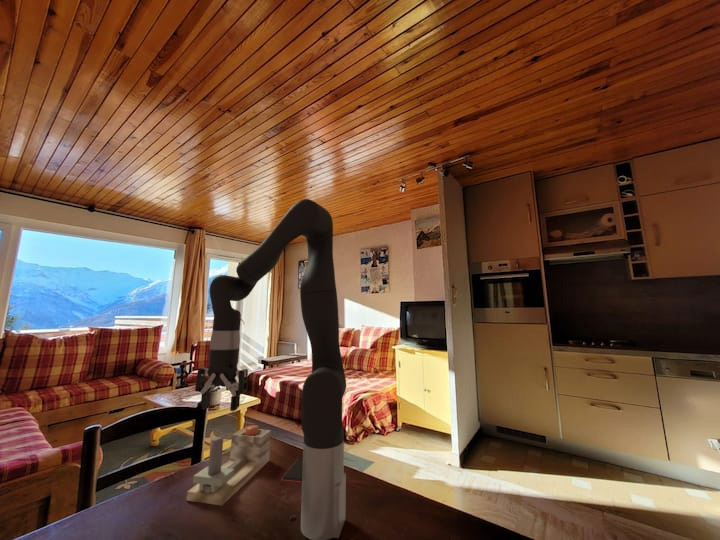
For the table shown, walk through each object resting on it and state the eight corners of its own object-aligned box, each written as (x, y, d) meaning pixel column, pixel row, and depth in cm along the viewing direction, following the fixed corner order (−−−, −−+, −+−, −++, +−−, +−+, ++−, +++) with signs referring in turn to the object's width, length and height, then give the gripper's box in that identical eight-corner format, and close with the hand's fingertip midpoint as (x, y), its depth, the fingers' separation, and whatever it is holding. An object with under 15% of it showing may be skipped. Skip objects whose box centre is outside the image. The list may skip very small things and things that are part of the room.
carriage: (233, 482, 75) (236, 436, 77) (220, 493, 71) (224, 444, 72) (206, 478, 77) (210, 434, 79) (192, 489, 72) (196, 441, 74)
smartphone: (318, 458, 93) (303, 482, 79) (318, 460, 93) (303, 484, 79) (298, 456, 94) (279, 479, 80) (298, 458, 94) (279, 481, 80)
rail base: (269, 460, 92) (270, 430, 93) (222, 505, 69) (225, 464, 71) (240, 457, 94) (243, 427, 95) (186, 500, 71) (190, 460, 73)
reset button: (260, 435, 93) (261, 425, 93) (253, 440, 89) (254, 430, 89) (249, 434, 93) (249, 424, 94) (242, 439, 89) (242, 429, 90)
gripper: (255, 346, 82) (251, 407, 79) (211, 345, 85) (206, 403, 82) (240, 349, 75) (234, 415, 72) (192, 347, 77) (185, 411, 75)
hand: (219, 409), depth 77 cm, fingers open, 8 cm apart
